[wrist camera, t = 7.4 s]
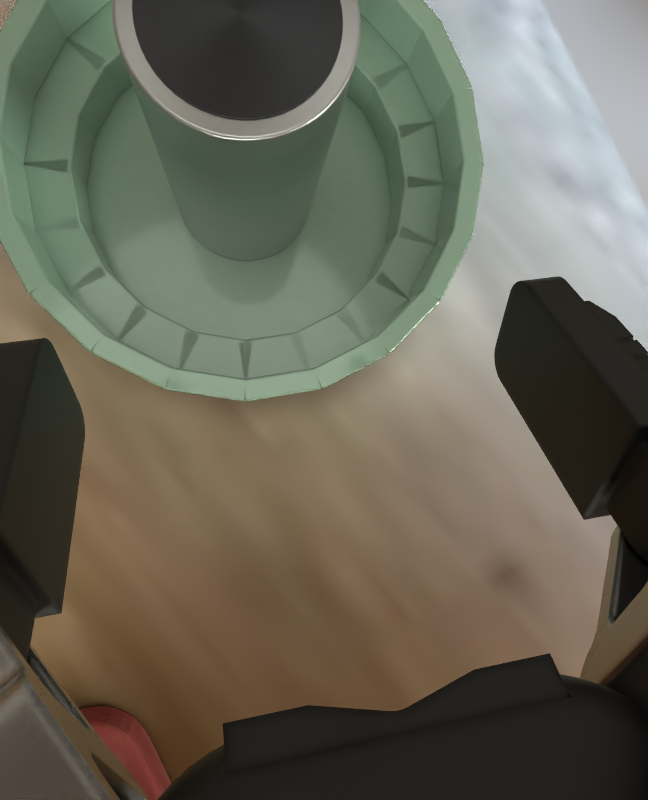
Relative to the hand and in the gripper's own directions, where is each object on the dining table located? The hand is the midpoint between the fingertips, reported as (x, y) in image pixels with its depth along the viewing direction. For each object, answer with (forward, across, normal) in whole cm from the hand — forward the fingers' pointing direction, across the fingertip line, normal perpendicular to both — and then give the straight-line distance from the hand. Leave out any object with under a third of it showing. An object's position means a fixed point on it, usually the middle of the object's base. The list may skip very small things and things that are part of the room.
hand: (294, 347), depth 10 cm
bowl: (+13, 0, +4) cm, 14 cm away
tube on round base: (+15, 0, +1) cm, 15 cm away
